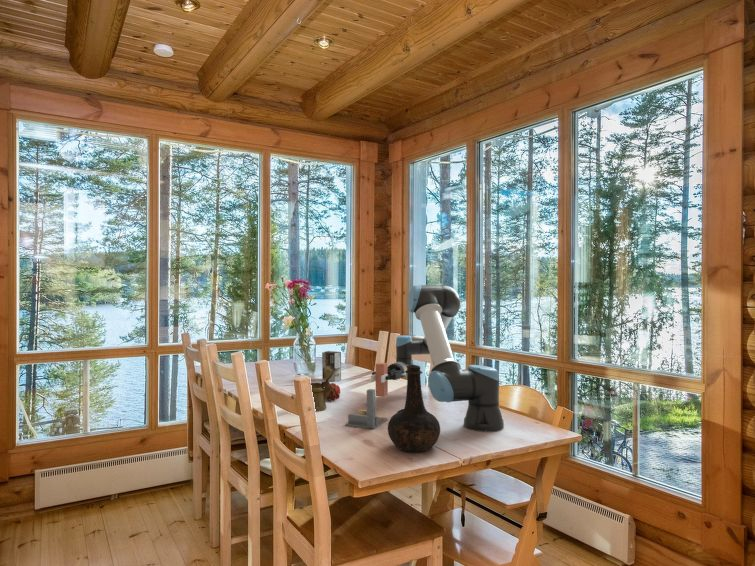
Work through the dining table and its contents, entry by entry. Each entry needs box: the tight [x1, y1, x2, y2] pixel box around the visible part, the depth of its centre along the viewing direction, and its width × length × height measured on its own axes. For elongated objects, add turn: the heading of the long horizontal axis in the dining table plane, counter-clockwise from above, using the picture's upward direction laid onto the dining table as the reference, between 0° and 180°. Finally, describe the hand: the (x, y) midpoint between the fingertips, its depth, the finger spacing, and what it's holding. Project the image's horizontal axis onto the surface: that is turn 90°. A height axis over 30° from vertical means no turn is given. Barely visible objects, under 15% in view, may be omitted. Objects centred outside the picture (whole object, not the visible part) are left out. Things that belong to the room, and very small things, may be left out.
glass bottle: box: [387, 364, 441, 453], centre depth 176 cm, size 18×18×28 cm
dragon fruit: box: [323, 382, 341, 401], centre depth 247 cm, size 8×8×12 cm
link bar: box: [375, 362, 389, 398], centre depth 228 cm, size 4×4×14 cm
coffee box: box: [321, 350, 342, 382], centre depth 294 cm, size 9×6×16 cm
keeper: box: [345, 388, 389, 430], centre depth 206 cm, size 15×12×15 cm
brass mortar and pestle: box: [310, 368, 336, 412], centre depth 229 cm, size 9×14×18 cm, turn 96°
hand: (376, 379), depth 223 cm, fingers closed on link bar, 4 cm apart
